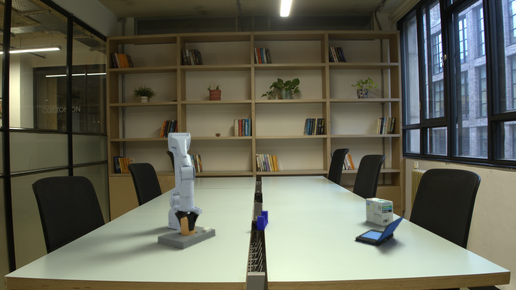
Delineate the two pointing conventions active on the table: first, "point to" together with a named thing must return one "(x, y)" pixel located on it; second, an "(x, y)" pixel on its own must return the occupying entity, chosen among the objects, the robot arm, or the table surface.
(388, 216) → the light bulb box
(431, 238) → the table surface
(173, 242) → the socket plate
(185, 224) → the plug
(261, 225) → the cable clip
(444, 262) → the table surface
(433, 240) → the table surface
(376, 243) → the handheld game console
